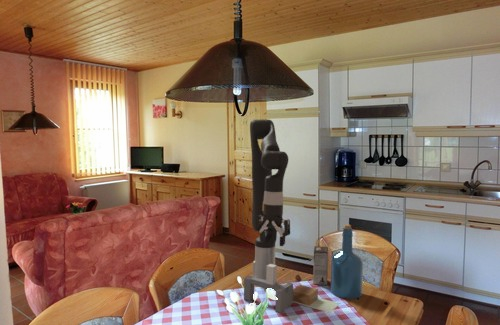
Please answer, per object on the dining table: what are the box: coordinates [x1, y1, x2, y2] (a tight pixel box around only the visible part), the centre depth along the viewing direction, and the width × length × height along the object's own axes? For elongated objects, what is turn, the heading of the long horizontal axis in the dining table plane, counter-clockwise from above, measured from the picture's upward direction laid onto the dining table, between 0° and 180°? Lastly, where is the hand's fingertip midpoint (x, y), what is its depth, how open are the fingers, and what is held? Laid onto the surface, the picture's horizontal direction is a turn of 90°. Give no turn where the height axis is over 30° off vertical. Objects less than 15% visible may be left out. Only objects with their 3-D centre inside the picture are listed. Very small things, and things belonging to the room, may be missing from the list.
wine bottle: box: [330, 224, 364, 300], centre depth 152 cm, size 14×13×30 cm
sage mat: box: [293, 297, 340, 314], centre depth 143 cm, size 20×10×1 cm, turn 56°
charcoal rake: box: [243, 264, 294, 314], centre depth 141 cm, size 19×10×16 cm, turn 56°
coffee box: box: [312, 245, 329, 286], centre depth 165 cm, size 9×6×16 cm
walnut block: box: [293, 284, 319, 306], centre depth 144 cm, size 8×8×4 cm
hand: (272, 243), depth 139 cm, fingers open, 8 cm apart
